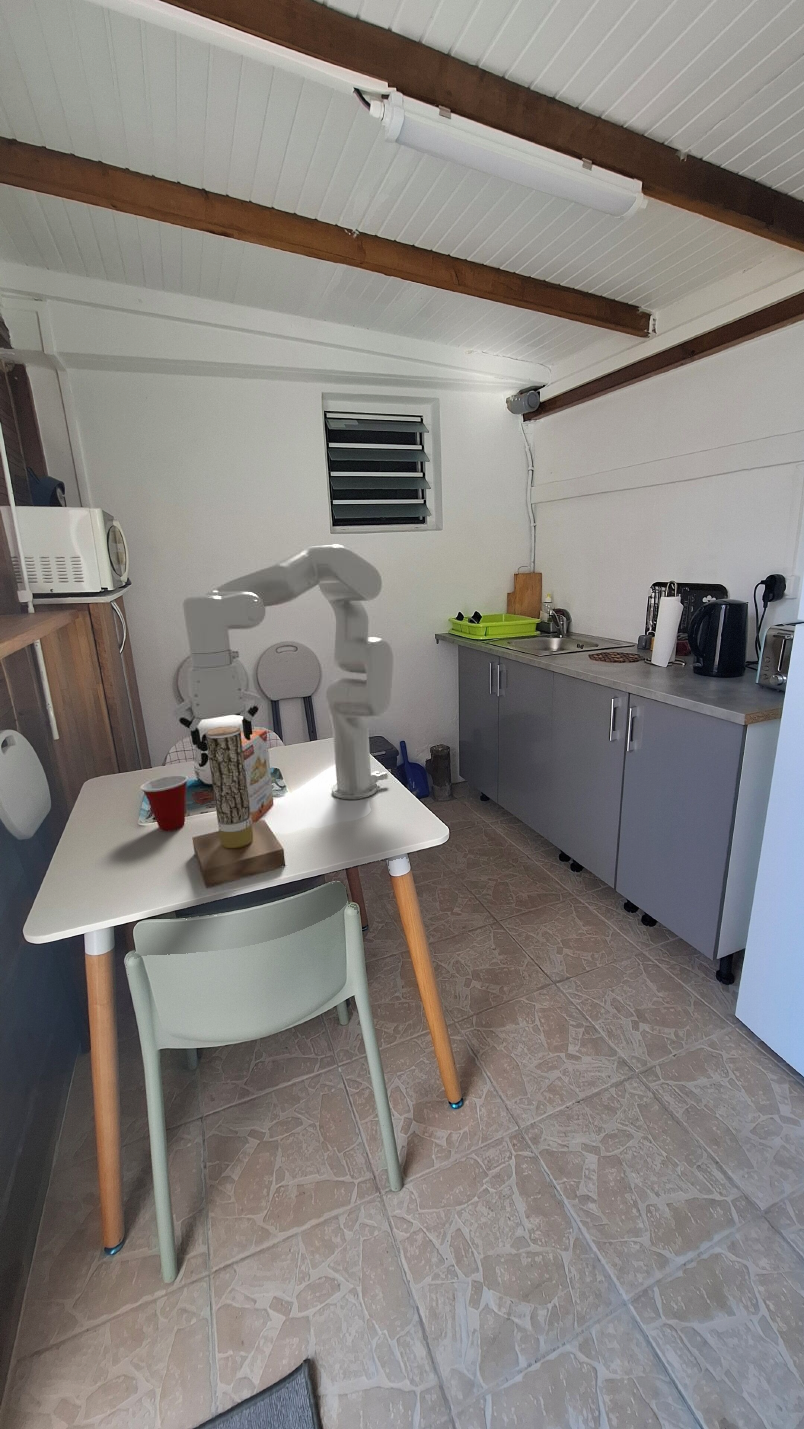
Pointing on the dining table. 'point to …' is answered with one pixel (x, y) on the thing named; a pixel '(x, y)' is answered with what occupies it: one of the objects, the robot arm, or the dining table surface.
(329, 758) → the dining table surface
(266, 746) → the cracker box
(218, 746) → the paper tube
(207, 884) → the walnut base
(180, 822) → the plastic cup
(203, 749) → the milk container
